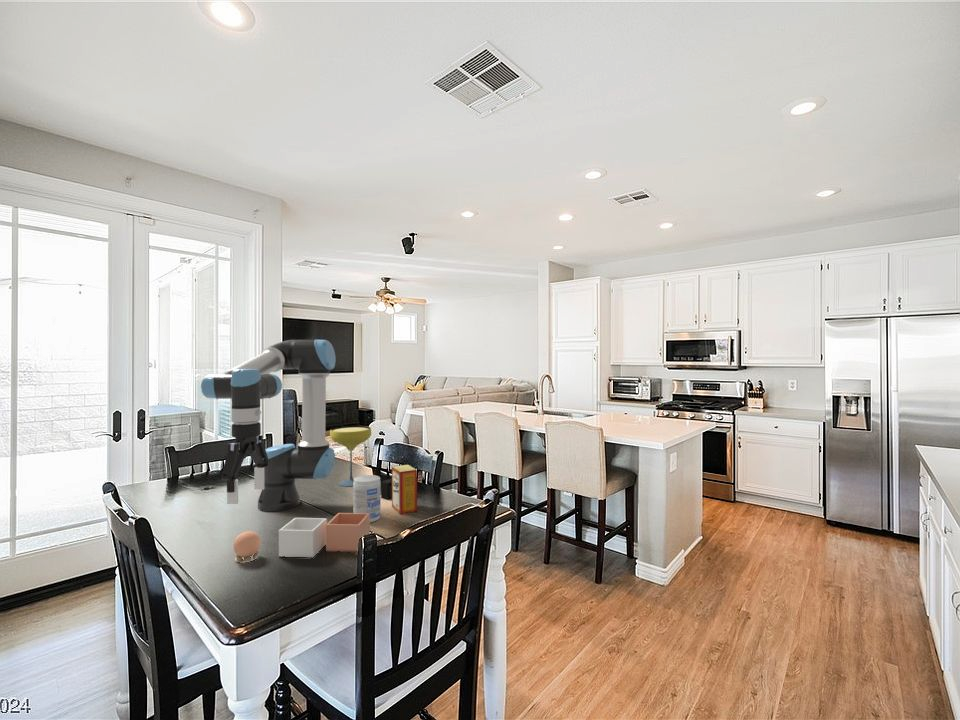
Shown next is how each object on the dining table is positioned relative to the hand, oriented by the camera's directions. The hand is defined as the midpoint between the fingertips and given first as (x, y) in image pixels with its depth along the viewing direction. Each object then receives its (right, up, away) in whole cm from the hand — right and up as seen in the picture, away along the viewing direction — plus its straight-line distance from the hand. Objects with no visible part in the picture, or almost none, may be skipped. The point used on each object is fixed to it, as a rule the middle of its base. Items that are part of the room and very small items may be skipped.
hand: (246, 496), depth 133 cm
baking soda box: (+39, -18, +42) cm, 60 cm away
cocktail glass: (+9, -17, +77) cm, 79 cm away
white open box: (+14, -18, +6) cm, 24 cm away
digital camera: (+32, -18, +58) cm, 68 cm away
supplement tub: (+27, -18, +32) cm, 45 cm away
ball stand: (0, -18, 0) cm, 18 cm away
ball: (0, -14, 0) cm, 14 cm away
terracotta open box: (+27, -18, +10) cm, 34 cm away
